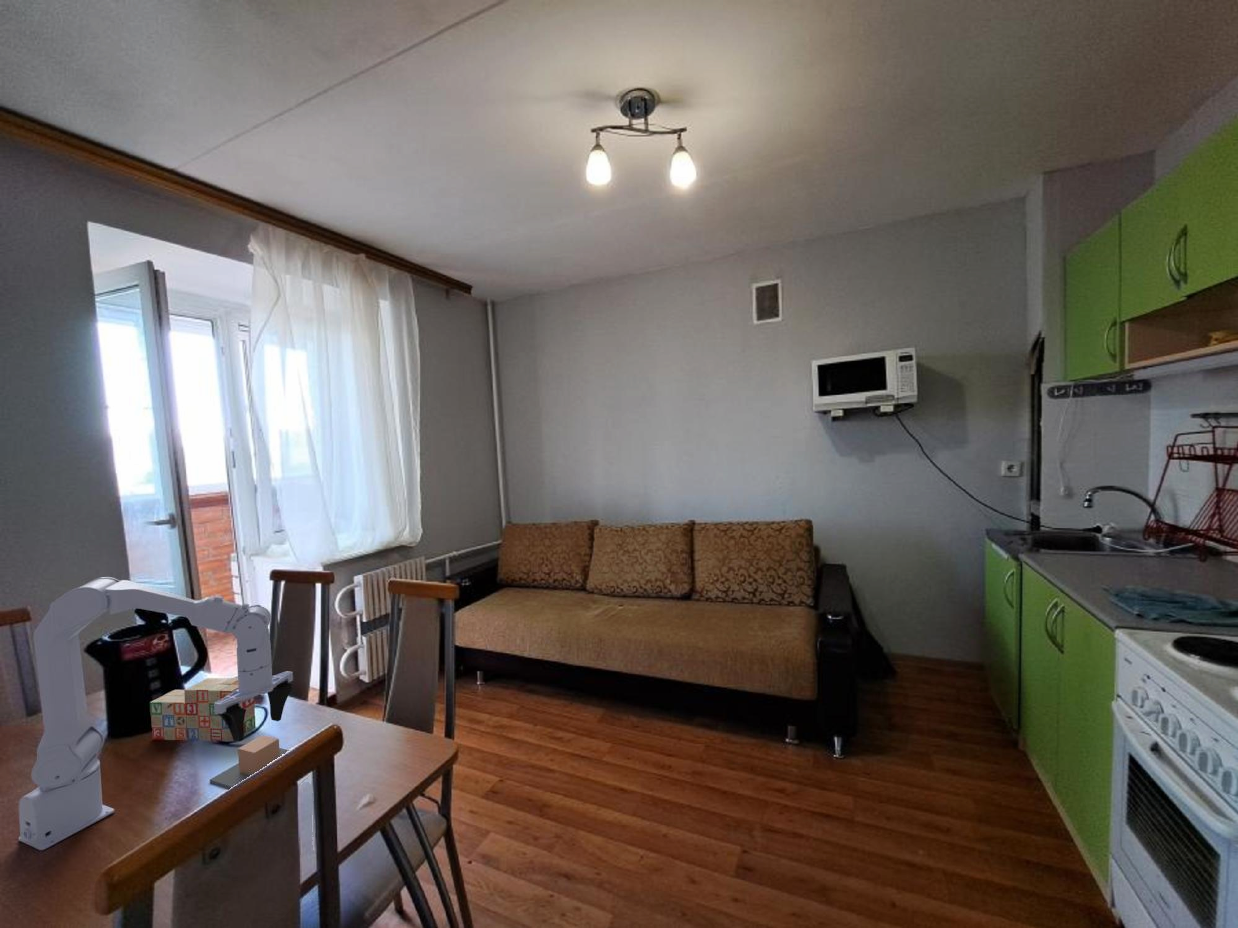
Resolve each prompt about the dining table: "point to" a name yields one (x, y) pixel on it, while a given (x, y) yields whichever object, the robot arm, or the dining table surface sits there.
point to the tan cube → (258, 754)
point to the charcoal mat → (233, 775)
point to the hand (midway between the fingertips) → (257, 729)
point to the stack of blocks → (197, 712)
